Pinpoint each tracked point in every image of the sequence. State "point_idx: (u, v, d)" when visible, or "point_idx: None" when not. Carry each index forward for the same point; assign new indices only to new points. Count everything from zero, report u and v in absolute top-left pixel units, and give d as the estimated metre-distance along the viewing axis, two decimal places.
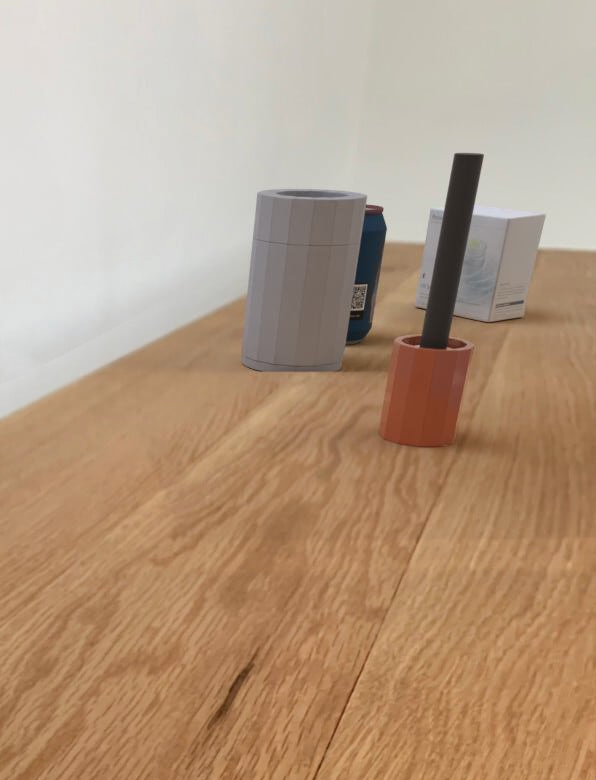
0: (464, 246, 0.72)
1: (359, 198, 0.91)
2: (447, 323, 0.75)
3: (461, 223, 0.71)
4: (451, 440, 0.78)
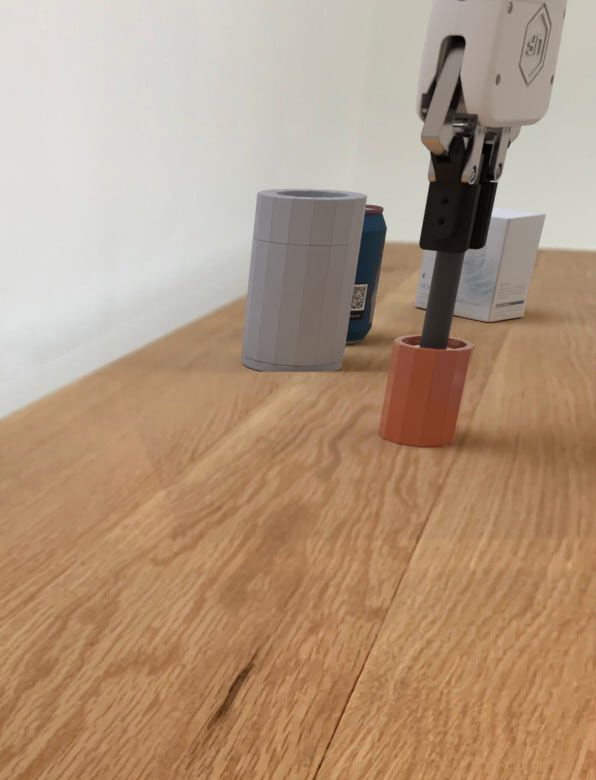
0: None
1: (359, 198, 0.91)
2: (447, 323, 0.75)
3: None
4: (451, 440, 0.78)
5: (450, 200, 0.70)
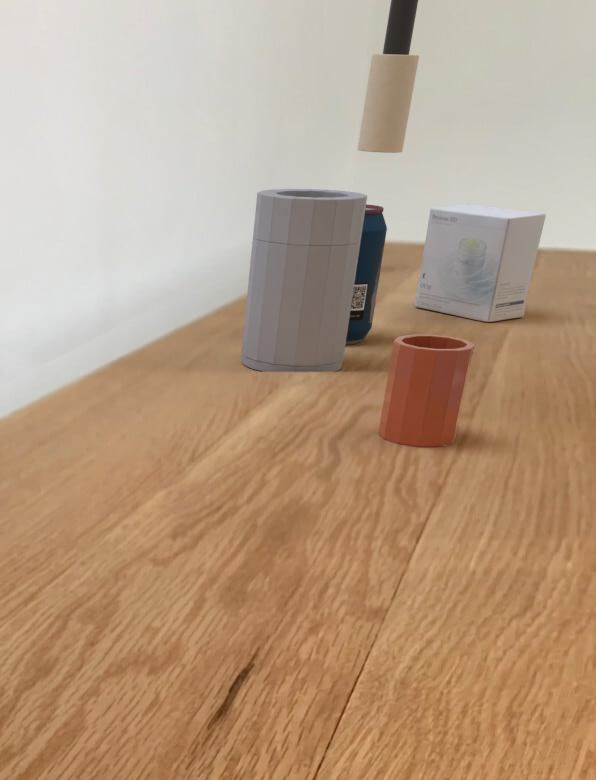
0: None
1: (359, 198, 0.91)
2: (410, 23, 0.76)
3: None
4: (451, 440, 0.78)
5: None
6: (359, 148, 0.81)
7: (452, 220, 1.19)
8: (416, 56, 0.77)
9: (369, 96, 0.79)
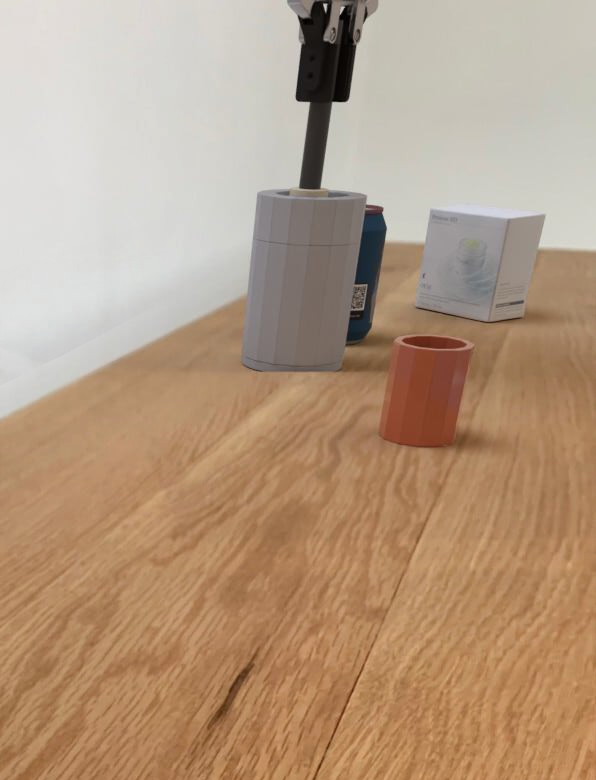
0: None
1: (359, 198, 0.91)
2: (319, 164, 0.92)
3: None
4: (451, 440, 0.78)
5: (316, 57, 0.87)
6: None
7: (452, 220, 1.19)
8: (325, 191, 0.93)
9: None
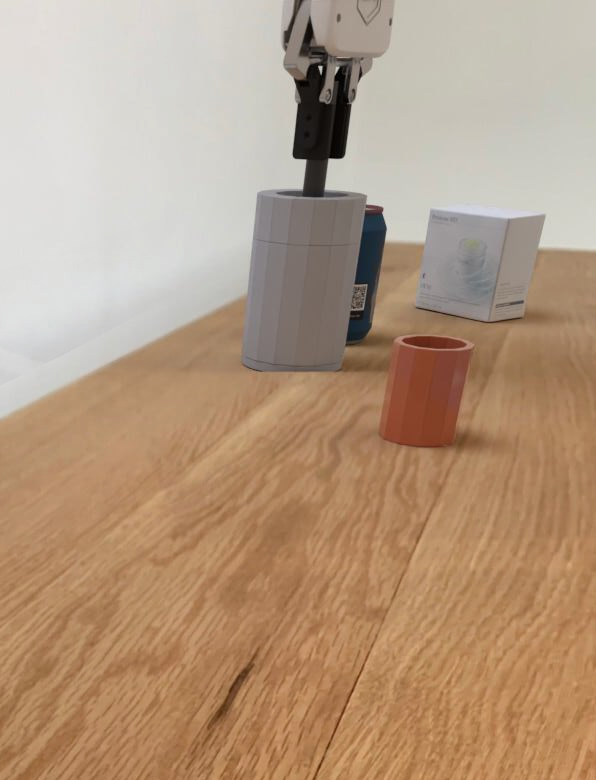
0: None
1: (359, 198, 0.91)
2: None
3: None
4: (451, 440, 0.78)
5: (312, 117, 0.89)
6: None
7: (452, 220, 1.19)
8: None
9: None
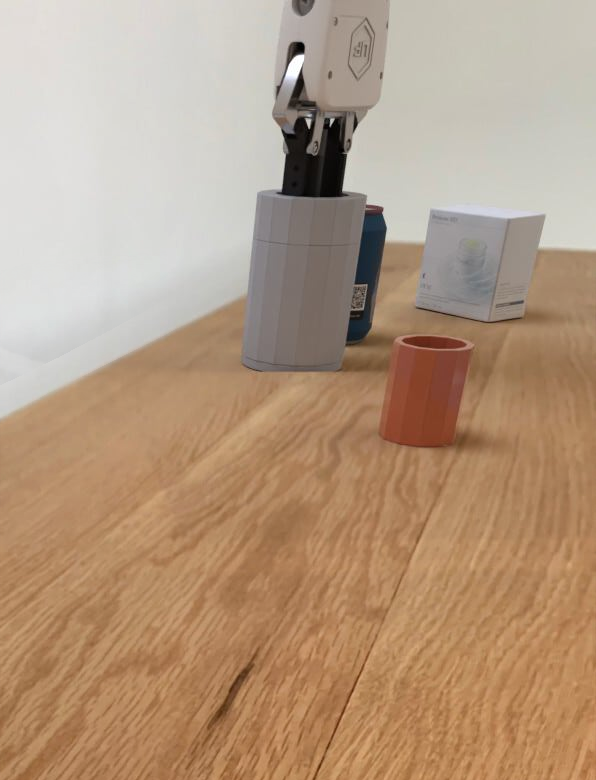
0: None
1: (359, 198, 0.91)
2: None
3: None
4: (451, 440, 0.78)
5: (300, 168, 0.91)
6: None
7: (452, 220, 1.19)
8: None
9: None
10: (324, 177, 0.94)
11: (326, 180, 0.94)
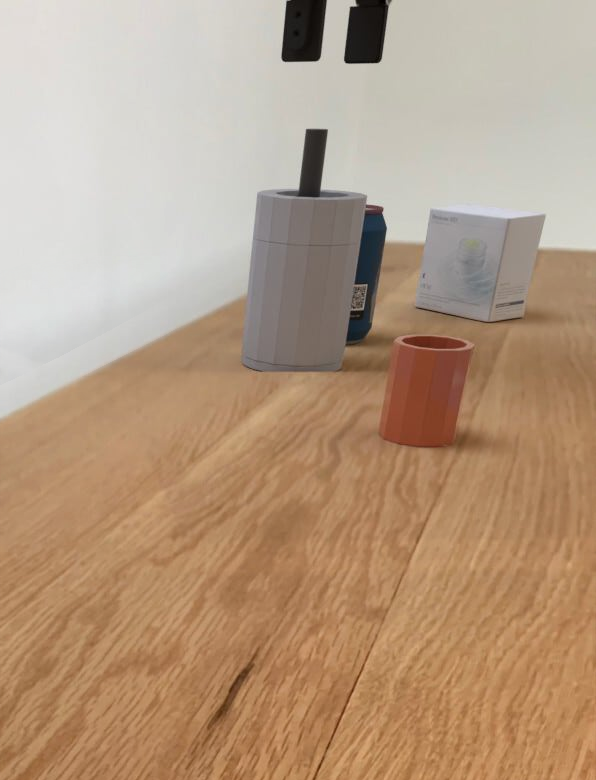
0: None
1: (359, 198, 0.91)
2: None
3: (312, 183, 0.93)
4: (451, 440, 0.78)
5: (302, 13, 0.83)
6: None
7: (452, 220, 1.19)
8: None
9: None
10: (364, 32, 0.90)
11: (366, 35, 0.90)
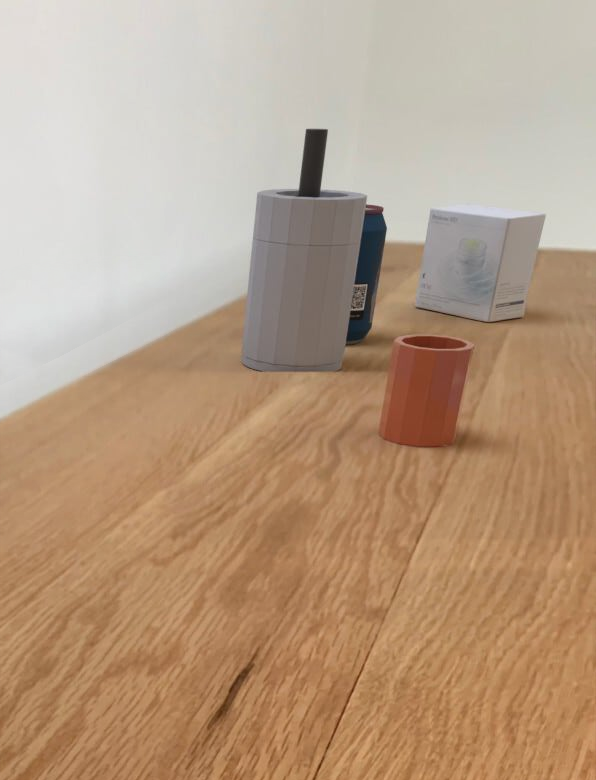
0: None
1: (359, 198, 0.91)
2: None
3: (312, 183, 0.93)
4: (451, 440, 0.78)
5: None
6: None
7: (452, 220, 1.19)
8: None
9: None
10: None
11: None
